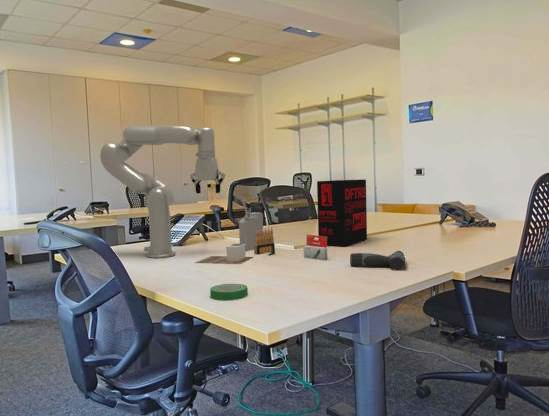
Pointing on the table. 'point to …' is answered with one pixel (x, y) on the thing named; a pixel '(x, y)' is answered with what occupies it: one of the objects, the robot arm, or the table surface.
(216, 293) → the tape roll
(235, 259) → the grey block
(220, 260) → the board
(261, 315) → the table surface
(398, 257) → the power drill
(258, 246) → the ammunition clip
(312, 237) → the ink cartridge box
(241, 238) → the fuel canister
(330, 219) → the product box
